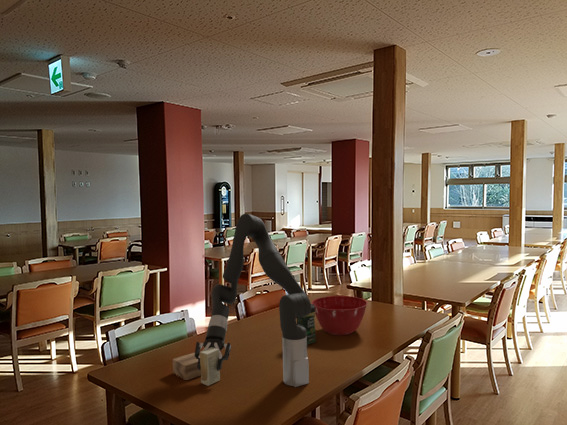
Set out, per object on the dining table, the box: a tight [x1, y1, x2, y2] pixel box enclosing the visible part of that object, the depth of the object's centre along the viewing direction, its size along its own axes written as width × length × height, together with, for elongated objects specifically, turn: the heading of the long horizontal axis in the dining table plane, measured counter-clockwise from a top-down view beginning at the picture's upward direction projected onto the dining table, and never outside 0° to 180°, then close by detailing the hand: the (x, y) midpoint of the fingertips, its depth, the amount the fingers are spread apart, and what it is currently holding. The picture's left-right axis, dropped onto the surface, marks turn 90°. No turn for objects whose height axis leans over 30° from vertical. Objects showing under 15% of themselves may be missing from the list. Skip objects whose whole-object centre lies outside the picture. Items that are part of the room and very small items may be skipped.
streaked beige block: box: [172, 352, 201, 381], centre depth 170 cm, size 10×10×6 cm
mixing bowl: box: [311, 295, 368, 336], centre depth 219 cm, size 28×28×16 cm
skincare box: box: [200, 347, 221, 387], centre depth 161 cm, size 6×4×12 cm
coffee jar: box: [296, 303, 317, 346], centre depth 202 cm, size 10×8×19 cm
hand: (208, 369), depth 159 cm, fingers closed on skincare box, 6 cm apart
